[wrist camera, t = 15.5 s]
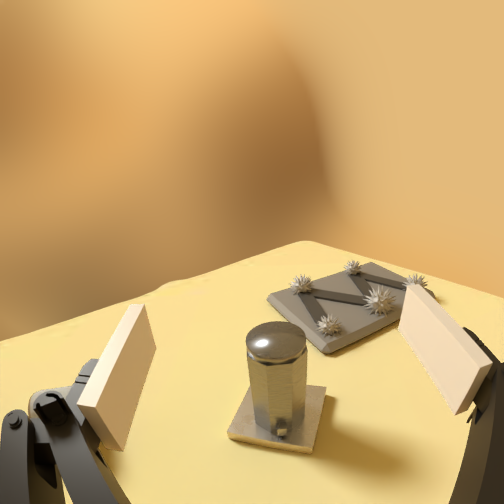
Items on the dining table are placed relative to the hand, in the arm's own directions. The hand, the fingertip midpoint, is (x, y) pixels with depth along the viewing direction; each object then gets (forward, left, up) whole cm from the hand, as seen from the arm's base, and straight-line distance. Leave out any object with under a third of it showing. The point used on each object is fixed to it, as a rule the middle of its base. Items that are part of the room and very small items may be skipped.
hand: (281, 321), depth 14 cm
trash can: (-4, +11, -22) cm, 25 cm away
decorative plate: (+4, +42, -24) cm, 49 cm away
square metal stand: (-4, +12, -23) cm, 26 cm away
